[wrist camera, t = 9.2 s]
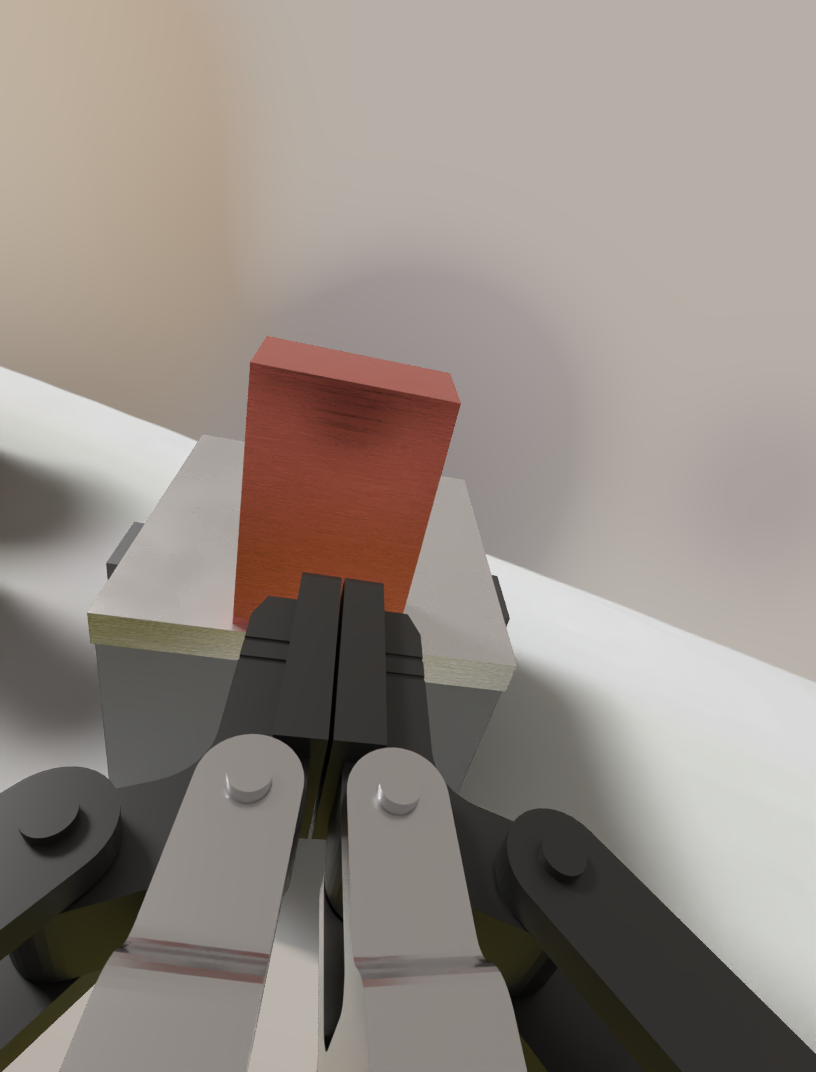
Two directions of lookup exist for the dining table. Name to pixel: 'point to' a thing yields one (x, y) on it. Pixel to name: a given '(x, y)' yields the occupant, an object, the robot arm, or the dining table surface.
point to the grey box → (200, 697)
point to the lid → (317, 518)
